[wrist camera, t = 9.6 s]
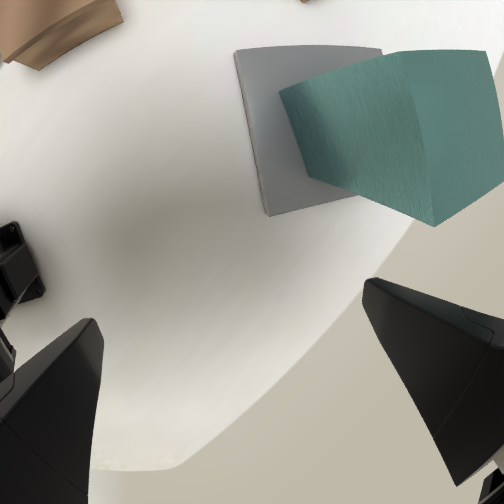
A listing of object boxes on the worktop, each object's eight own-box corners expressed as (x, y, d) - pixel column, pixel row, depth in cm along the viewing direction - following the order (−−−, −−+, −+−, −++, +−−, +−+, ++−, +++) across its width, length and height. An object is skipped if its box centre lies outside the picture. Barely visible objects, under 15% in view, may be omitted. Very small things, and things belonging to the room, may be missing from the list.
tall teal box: (308, 176, 20) (434, 227, 10) (278, 91, 17) (398, 51, 7) (377, 150, 21) (506, 179, 10) (353, 72, 18) (485, 51, 7)
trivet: (265, 213, 22) (269, 216, 21) (233, 54, 17) (236, 50, 16) (392, 183, 23) (399, 185, 22) (374, 51, 18) (381, 49, 17)
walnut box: (37, 74, 13) (2, 61, 9) (22, 17, 10) (-7, -4, 6) (127, 22, 14) (114, -9, 9) (106, -32, 11) (93, -65, 6)
